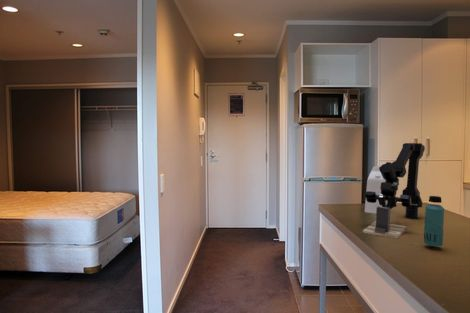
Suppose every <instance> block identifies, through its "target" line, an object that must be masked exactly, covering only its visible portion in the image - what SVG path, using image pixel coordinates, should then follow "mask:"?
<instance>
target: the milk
mask: <svg viewBox="0 0 470 313" xmlns="http://www.w3.org/2000/svg"><path fill="white" fill-rule="evenodd" d="M371 168H372V169H371V171H370V173H369V175H368V177H367V181H366V190H365V191H366V192H367V191H372V192H375V193H376V195H379V194H381V190H380V187H381V182H385V179H383V177H382V175H381V172H380V170H379V168H380V166H379V165H378V166H376V165H375V166H374V165H373V167H371ZM366 192H365V193H366ZM364 202H365V204H364V213H369V214H376V210H377V207H378V206H380V207H382V205H380V204H379V201H378V200H377V201H376V202H375V203H370V202H367V199H366V198H365V201H364ZM387 202H388V201H386V205H387Z"/></svg>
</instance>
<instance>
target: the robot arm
mask: <svg viewBox="0 0 470 313" xmlns="http://www.w3.org/2000/svg"><path fill="white" fill-rule="evenodd" d="M425 148H426V146H425V145H423V143H421V142H404V143H403V144H402V148H401V150H400V152H399V154H398V156H397V157H396V159H395V161H392V162H390V161H389V162H388V161H386V163H384V164H382V165H381V166H379V167H380V168H379V170H380V172H381V175H382V177H383V179H385V182H381V187H380V190H381V194H379V195H376V193H375V192H372V191H367V192H365V200H366V199H367V202H370V203H375V202H376V201H377V200H378V201H379V204H380V205H382V207H388V208H390V211H391V210H392V209H393V208H396V207H397V203H401V206H402V207H405V214H404V218H407V219H415V220H419V219H420V217H419V215H418V214H419V208H423V200H422V198H421V192H420V190H419V189H418V179H419V178H418V177H419V165H420V160H421V158H422V157H423V156H424V153H425ZM407 164H408V165H407ZM406 165H407V167H408V168H407V169H406ZM406 174H407V179H406V180H407V181H406V186H405V188H403V189H402V194H400V195H399V196H396V195H397V191H398V190H399V185H400V179H399V178H402V179H403V178H404V177H405V176H406ZM386 201H388V202H387V205H386Z"/></svg>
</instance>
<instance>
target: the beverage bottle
mask: <svg viewBox="0 0 470 313" xmlns="http://www.w3.org/2000/svg"><path fill="white" fill-rule="evenodd" d="M428 202H430V203H429V204H427V205H426V206H425V209H424V210H425V212H424V228H423V232H424V233H423V242H424V244H425V245H427V246H431V247H437V248H438V247H439V248H440V247H443V245H444V222H445V221H444V218H445V208H444V207H443V206H442V205H441V203H442V197H441V196H439V195H429V197H428ZM433 203H434V204H433ZM435 203H436V204H435Z"/></svg>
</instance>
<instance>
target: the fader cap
mask: <svg viewBox="0 0 470 313" xmlns="http://www.w3.org/2000/svg"><path fill="white" fill-rule="evenodd" d="M375 214H376V215H375V222H376V228H381V229H385V232H388V231H389V227H390V224H391V223H390V222H391V221H390V220H391V210H390V208H388V207H380V206H378V207H377V210H376V213H375Z"/></svg>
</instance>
